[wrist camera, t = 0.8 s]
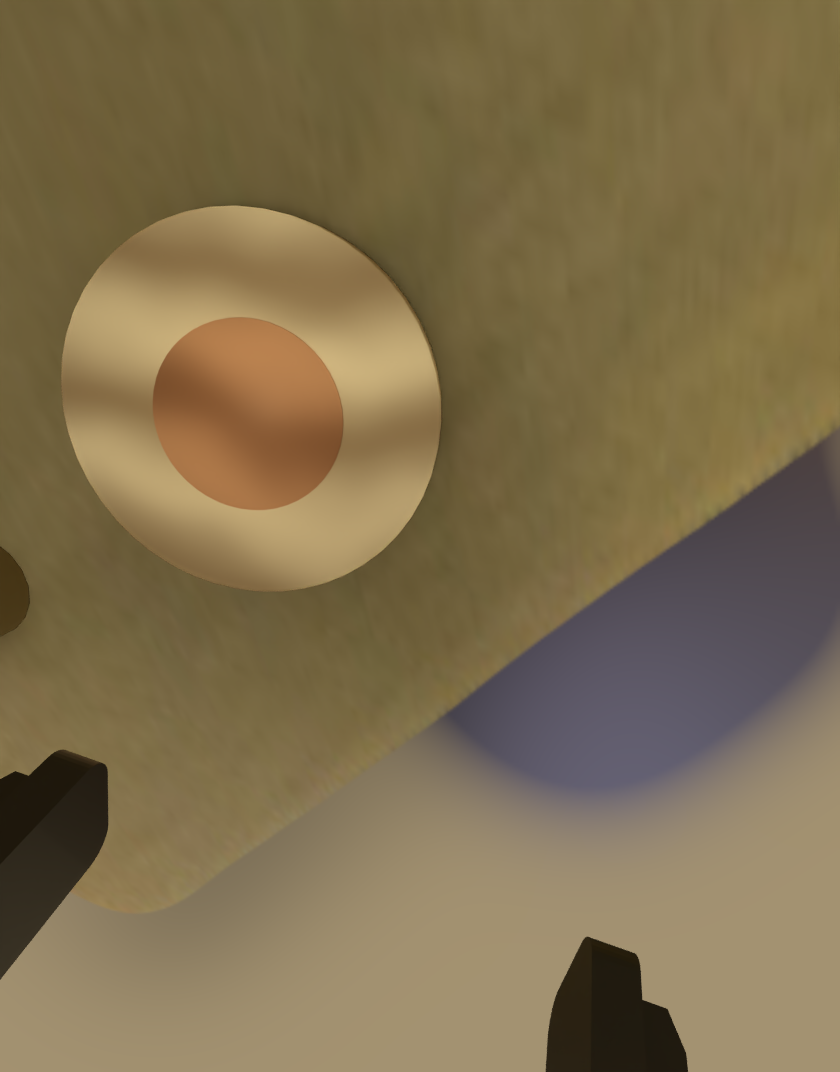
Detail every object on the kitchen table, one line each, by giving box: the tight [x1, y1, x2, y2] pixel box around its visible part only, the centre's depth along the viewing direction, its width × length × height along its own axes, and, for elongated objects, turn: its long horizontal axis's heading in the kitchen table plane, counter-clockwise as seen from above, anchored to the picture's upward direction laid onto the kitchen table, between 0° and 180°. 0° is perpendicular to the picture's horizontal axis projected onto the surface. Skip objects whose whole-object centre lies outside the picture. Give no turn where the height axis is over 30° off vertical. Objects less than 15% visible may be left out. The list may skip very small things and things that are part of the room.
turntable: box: [61, 206, 442, 591], centre depth 30 cm, size 16×16×3 cm
